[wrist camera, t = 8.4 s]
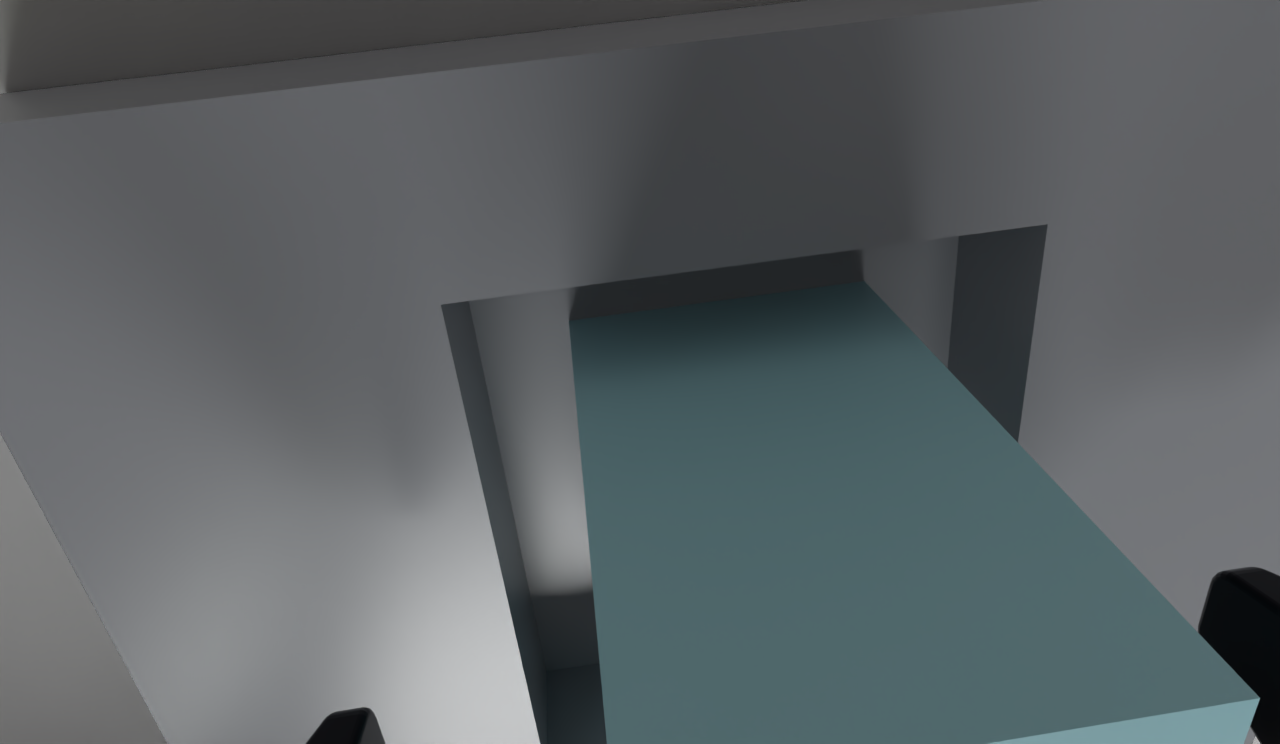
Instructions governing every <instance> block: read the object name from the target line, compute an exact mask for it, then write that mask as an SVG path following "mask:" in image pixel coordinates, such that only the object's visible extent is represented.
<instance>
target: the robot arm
mask: <svg viewBox="0 0 1280 744" xmlns="http://www.w3.org/2000/svg"><path fill="white" fill-rule="evenodd" d="M1198 633H1199V634H1200V635H1201V636H1202V637H1203V638H1204V639H1205V641H1206V642H1207V643H1208V644H1209V645H1210V646H1211V647H1212V648H1213V649H1214V650H1215V651H1216V652H1217V653H1218V654H1219V655H1220V656H1221V657H1222V658H1223V659H1224V661H1225V662H1226V663H1227V664H1228V665H1229V666H1230V667H1231V668H1232V669H1233V670H1234V671H1235V672H1236V673H1237V674H1238V675H1239V676H1240V677H1241V678H1242V680H1243V681H1244V682H1245V683H1246V684H1247V685H1248V686H1249V687H1250V688H1251V689H1252V690H1253V691H1254V692H1255V693H1256V694H1257V695H1258V696H1259V697H1260V700H1259V703H1258V706H1257V708H1256V711H1255V714H1254V717H1253V720H1252V722H1251V725H1250V727H1251V729H1252V731H1253V732H1254V734H1255V735H1256V737H1257V739H1258V740H1259V742H1260V744H1280V576H1279V575H1277V574H1274V573H1272V572H1270V571H1268V570H1265V569H1262V568H1259V567H1244V568H1238V569H1231V570H1225V571H1221V572H1218V573H1217V574H1216V575H1215V576H1214V577H1213V578H1212V580H1211V582H1210V585H1209V589H1208V592H1207V596H1206V599H1205V602H1204V606H1203V609H1202V613H1201V616H1200V620H1199V623H1198ZM306 744H386V743H385V740H384V737H383V735H382V732H381V729H380V726H379V723H378V721H377V718H376V715H375V713H374V712H373V711H372V710H371V709H370V708H368V707H361V708H355V709H348V710H342V711H336V712H333V713H331V714H330V715H328V716H327V717H326V718H325V719H324V720H323V721H322V723H321V724H320V725H319V727H318V728H317V729H316V731H315V732H314V733H313V735H312V736H311V737H310V738H309V740H308V741H307V742H306Z"/></svg>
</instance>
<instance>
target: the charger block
mask: <svg viewBox="0 0 1280 744" xmlns="http://www.w3.org/2000/svg"><path fill="white" fill-rule="evenodd" d="M569 330H570V341H571V352H572V363H573V374H574V385H575V397H576V408H577V419H578V430H579V441H580V452H581V463H582V474H583V485H584V496H585V507H586V518H587V529H588V540H589V551H590V562H591V574H592V585H593V596H594V607H595V618H596V629H597V640H598V651H599V662H600V673H601V684H602V695H603V706H604V717H605V728H606V739H607V744H1244V742H1245V739H1246V736H1247V733H1248V731H1249V728H1250V725H1251V722H1252V720H1253V717H1254V714H1255V711H1256V708H1257V706H1258V703H1259V700H1260V697H1259V696H1258V695H1257V694H1256V693H1255V692H1254V691H1253V690H1252V689H1251V688H1250V687H1249V686H1248V685H1247V684H1246V683H1245V682H1244V681H1243V680H1242V678H1241V677H1240V676H1239V675H1238V674H1237V673H1236V672H1235V671H1234V670H1233V669H1232V668H1231V667H1230V666H1229V665H1228V664H1227V663H1226V662H1225V661H1224V659H1223V658H1222V657H1221V656H1220V655H1219V654H1218V653H1217V652H1216V651H1215V650H1214V649H1213V648H1212V647H1211V646H1210V645H1209V644H1208V643H1207V642H1206V641H1205V639H1204V638H1203V637H1202V636H1201V635H1200V634H1199V633H1198V632H1197V631H1196V630H1195V629H1194V628H1193V627H1192V626H1191V625H1190V624H1189V623H1188V622H1187V620H1186V619H1185V618H1184V617H1183V616H1182V615H1181V614H1180V613H1179V612H1178V611H1177V610H1176V609H1175V608H1174V607H1173V606H1172V605H1171V604H1170V603H1169V602H1168V600H1167V599H1166V598H1165V597H1164V596H1163V595H1162V594H1161V593H1160V592H1159V591H1158V590H1157V589H1156V588H1155V587H1154V586H1153V585H1152V584H1151V583H1150V582H1149V580H1148V579H1147V578H1146V577H1145V576H1144V575H1143V574H1142V573H1141V572H1140V571H1139V570H1138V569H1137V568H1136V567H1135V566H1134V565H1133V564H1132V563H1131V561H1130V560H1129V559H1128V558H1127V557H1126V556H1125V555H1124V554H1123V553H1122V552H1121V551H1120V550H1119V549H1118V548H1117V547H1116V546H1115V545H1114V544H1113V543H1112V541H1111V540H1110V539H1109V538H1108V537H1107V536H1106V535H1105V534H1104V533H1103V532H1102V531H1101V530H1100V529H1099V528H1098V527H1097V526H1096V525H1095V524H1094V522H1093V521H1092V520H1091V519H1090V518H1089V517H1088V516H1087V515H1086V514H1085V513H1084V512H1083V511H1082V510H1081V509H1080V508H1079V507H1078V506H1077V505H1076V504H1075V502H1074V501H1073V500H1072V499H1071V498H1070V497H1069V496H1068V495H1067V494H1066V493H1065V492H1064V491H1063V490H1062V489H1061V488H1060V487H1059V486H1058V485H1057V483H1056V482H1055V481H1054V480H1053V479H1052V478H1051V477H1050V476H1049V475H1048V474H1047V473H1046V472H1045V471H1044V470H1043V469H1042V468H1041V467H1040V466H1039V465H1038V463H1037V462H1036V461H1035V460H1034V459H1033V458H1032V457H1031V456H1030V455H1029V454H1028V453H1027V452H1026V451H1025V450H1024V449H1023V448H1022V447H1021V446H1020V445H1019V443H1018V442H1017V441H1016V440H1015V439H1014V438H1013V437H1012V436H1011V435H1010V434H1009V433H1008V432H1007V431H1006V430H1005V429H1004V428H1003V427H1002V426H1001V424H1000V423H999V422H998V421H997V420H996V419H995V418H994V417H993V416H992V415H991V414H990V413H989V412H988V411H987V410H986V409H985V408H984V407H983V406H982V404H981V403H980V402H979V401H978V400H977V399H976V398H975V397H974V396H973V395H972V394H971V393H970V392H969V391H968V390H967V389H966V388H965V387H964V385H963V384H962V383H961V382H960V381H959V380H958V379H957V378H956V377H955V376H954V375H953V374H952V373H951V372H950V371H949V370H948V369H947V368H946V367H945V365H944V364H943V363H942V362H941V361H940V360H939V359H938V358H937V357H936V356H935V355H934V354H933V353H932V352H931V351H930V350H929V349H928V348H927V347H926V345H925V344H924V343H923V342H922V341H921V340H920V339H919V338H918V337H917V336H916V335H915V334H914V333H913V332H912V331H911V330H910V329H909V328H908V326H907V325H906V324H905V323H904V322H903V321H902V320H901V319H900V318H899V317H898V316H897V315H896V314H895V313H894V312H893V311H892V310H891V309H890V308H889V306H888V305H887V304H886V303H885V302H884V301H883V300H882V299H881V298H880V297H879V296H878V295H877V294H876V293H875V292H874V291H873V290H872V289H871V287H870V286H869V285H868V284H867V283H866V282H865V281H861V282H854V283H846V284H839V285H831V286H824V287H816V288H809V289H802V290H794V291H787V292H779V293H772V294H765V295H757V296H750V297H742V298H735V299H727V300H720V301H713V302H705V303H698V304H690V305H683V306H675V307H668V308H661V309H653V310H646V311H638V312H631V313H623V314H616V315H609V316H601V317H594V318H586V319H579V320H571V321H569Z"/></svg>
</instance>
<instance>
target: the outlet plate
mask: <svg viewBox="0 0 1280 744" xmlns="http://www.w3.org/2000/svg"><path fill="white" fill-rule="evenodd" d="M861 281H865V282H866V283H867V284H868V285H869V286H870V287H871V289H872V290H873V291H874V292H875V293H876V294H877V295H878V296H879V297H880V298H881V299H882V300H883V301H884V302H885V303H886V304H887V305H888V306H889V308H890V309H891V310H892V311H893V312H894V313H895V314H896V315H897V316H898V317H899V318H900V319H901V320H902V321H903V322H904V323H905V324H906V325H907V326H908V328H909V329H910V330H911V331H912V332H913V333H914V334H915V335H916V336H917V337H918V338H919V339H920V340H921V341H922V342H923V343H924V344H925V345H926V347H927V348H928V349H929V350H930V351H931V352H932V353H933V354H934V355H935V356H936V357H937V358H938V359H939V360H940V361H941V362H942V363H943V364H944V365H945V367H946V368H947V369H948V370H949V371H950V372H951V373H952V374H953V375H954V376H955V377H956V378H957V379H958V380H959V381H960V382H961V383H962V384H963V385H964V387H965V388H966V389H967V390H968V391H969V392H970V393H971V394H972V395H973V396H974V397H975V398H976V399H977V400H978V401H979V402H980V403H981V404H982V406H983V407H984V408H985V409H986V410H987V411H988V412H989V413H990V414H991V415H992V416H993V417H994V418H995V419H996V420H997V421H998V422H999V423H1000V424H1001V426H1002V427H1003V428H1004V429H1005V430H1006V431H1007V432H1008V433H1009V434H1010V435H1011V436H1012V437H1013V438H1014V439H1015V440H1016V441H1017V442H1018V443H1019V445H1020V446H1021V447H1022V448H1023V449H1024V450H1025V451H1026V452H1027V453H1028V454H1029V455H1030V456H1031V457H1032V458H1033V459H1034V460H1035V461H1036V462H1037V463H1038V465H1039V466H1040V467H1041V468H1042V469H1043V470H1044V471H1045V472H1046V473H1047V474H1048V475H1049V476H1050V477H1051V478H1052V479H1053V480H1054V481H1055V482H1056V483H1057V485H1058V486H1059V487H1060V488H1061V489H1062V490H1063V491H1064V492H1065V493H1066V494H1067V495H1068V496H1069V497H1070V498H1071V499H1072V500H1073V501H1074V502H1075V504H1076V505H1077V506H1078V507H1079V508H1080V509H1081V510H1082V511H1083V512H1084V513H1085V514H1086V515H1087V516H1088V517H1089V518H1090V519H1091V520H1092V521H1093V522H1094V524H1095V525H1096V526H1097V527H1098V528H1099V529H1100V530H1101V531H1102V532H1103V533H1104V534H1105V535H1106V536H1107V537H1108V538H1109V539H1110V540H1111V541H1112V543H1113V544H1114V545H1115V546H1116V547H1117V548H1118V549H1119V550H1120V551H1121V552H1122V553H1123V554H1124V555H1125V556H1126V557H1127V558H1128V559H1129V560H1130V561H1131V563H1132V564H1133V565H1134V566H1135V567H1136V568H1137V569H1138V570H1139V571H1140V572H1141V573H1142V574H1143V575H1144V576H1145V577H1146V578H1147V579H1148V580H1149V582H1150V583H1151V584H1152V585H1153V586H1154V587H1155V588H1156V589H1157V590H1158V591H1159V592H1160V593H1161V594H1162V595H1163V596H1164V597H1165V598H1166V599H1167V600H1168V602H1169V603H1170V604H1171V605H1172V606H1173V607H1174V608H1175V609H1176V610H1177V611H1178V612H1179V613H1180V614H1181V615H1182V616H1183V617H1184V618H1185V619H1186V620H1187V622H1188V623H1189V624H1190V625H1191V626H1192V627H1193V628H1194V629H1195V630H1196V631H1197V632H1198V623H1199V620H1200V616H1201V613H1202V609H1203V606H1204V602H1205V599H1206V596H1207V592H1208V589H1209V585H1210V582H1211V580H1212V578H1213V577H1214V576H1215V575H1216V574H1217V573H1218V572H1221V571H1225V570H1231V569H1238V568H1244V567H1259V568H1262V569H1265V570H1268V571H1270V572H1272V573H1274V574H1277V575H1279V576H1280V0H805V1H796V2H787V3H779V4H770V5H761V6H753V7H744V8H736V9H727V10H718V11H710V12H701V13H692V14H684V15H675V16H667V17H658V18H649V19H641V20H632V21H623V22H615V23H606V24H598V25H589V26H580V27H572V28H563V29H554V30H546V31H537V32H529V33H520V34H511V35H503V36H494V37H485V38H477V39H468V40H460V41H451V42H442V43H434V44H425V45H416V46H408V47H399V48H391V49H382V50H373V51H365V52H356V53H347V54H339V55H330V56H322V57H313V58H304V59H296V60H287V61H278V62H270V63H261V64H253V65H244V66H235V67H227V68H218V69H210V70H201V71H192V72H184V73H175V74H166V75H158V76H149V77H141V78H132V79H123V80H115V81H106V82H97V83H89V84H80V85H72V86H63V87H54V88H46V89H37V90H28V91H20V92H11V93H3V94H0V433H1V435H2V437H3V439H4V441H5V442H6V444H7V446H8V448H9V450H10V452H11V454H12V456H13V457H14V459H15V461H16V463H17V465H18V467H19V469H20V470H21V472H22V474H23V476H24V478H25V480H26V482H27V483H28V485H29V487H30V489H31V491H32V493H33V495H34V496H35V498H36V500H37V502H38V504H39V506H40V508H41V509H42V511H43V513H44V515H45V517H46V519H47V521H48V523H49V524H50V526H51V528H52V530H53V532H54V534H55V536H56V537H57V539H58V541H59V543H60V545H61V547H62V549H63V550H64V552H65V554H66V556H67V558H68V560H69V562H70V563H71V565H72V567H73V569H74V571H75V573H76V575H77V577H78V578H79V580H80V582H81V584H82V586H83V588H84V590H85V591H86V593H87V595H88V597H89V599H90V601H91V603H92V604H93V606H94V608H95V610H96V612H97V614H98V616H99V617H100V619H101V621H102V623H103V625H104V627H105V629H106V631H107V632H108V634H109V636H110V638H111V640H112V642H113V644H114V645H115V647H116V649H117V651H118V653H119V655H120V657H121V658H122V660H123V662H124V664H125V666H126V668H127V670H128V671H129V673H130V675H131V677H132V679H133V681H134V683H135V684H136V686H137V688H138V690H139V692H140V694H141V696H142V698H143V699H144V701H145V703H146V705H147V707H148V709H149V711H150V712H151V714H152V716H153V718H154V720H155V722H156V724H157V725H158V727H159V729H160V731H161V733H162V735H163V737H164V738H165V740H166V742H167V744H306V742H307V741H308V740H309V738H310V737H311V736H312V735H313V733H314V732H315V731H316V729H317V728H318V727H319V725H320V724H321V723H322V721H323V720H324V719H325V718H326V717H327V716H328V715H330V714H331V713H333V712H336V711H342V710H348V709H355V708H361V707H368V708H370V709H371V710H372V711H373V712H374V713H375V715H376V718H377V721H378V723H379V726H380V729H381V732H382V735H383V737H384V740H385V743H386V744H607V739H606V728H605V717H604V706H603V695H602V684H601V673H600V662H599V651H598V640H597V629H596V618H595V607H594V596H593V585H592V574H591V562H590V551H589V540H588V529H587V518H586V507H585V496H584V485H583V474H582V463H581V452H580V441H579V430H578V419H577V408H576V397H575V385H574V374H573V363H572V352H571V341H570V330H569V321H571V320H579V319H586V318H594V317H601V316H609V315H616V314H623V313H631V312H638V311H646V310H653V309H661V308H668V307H675V306H683V305H690V304H698V303H705V302H713V301H720V300H727V299H735V298H742V297H750V296H757V295H765V294H772V293H779V292H787V291H794V290H802V289H809V288H816V287H824V286H831V285H839V284H846V283H854V282H861ZM1254 738H1255V734H1254V732H1253V731H1252V729H1251V727H1250V728H1249V731H1248V733H1247V736H1246V739H1245V742H1244V744H1252V743H1253V740H1254Z"/></svg>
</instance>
